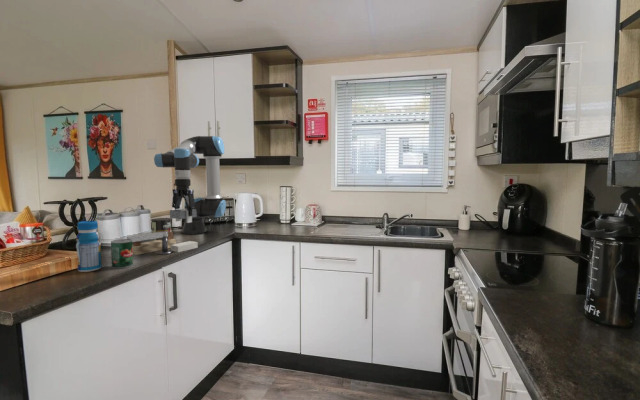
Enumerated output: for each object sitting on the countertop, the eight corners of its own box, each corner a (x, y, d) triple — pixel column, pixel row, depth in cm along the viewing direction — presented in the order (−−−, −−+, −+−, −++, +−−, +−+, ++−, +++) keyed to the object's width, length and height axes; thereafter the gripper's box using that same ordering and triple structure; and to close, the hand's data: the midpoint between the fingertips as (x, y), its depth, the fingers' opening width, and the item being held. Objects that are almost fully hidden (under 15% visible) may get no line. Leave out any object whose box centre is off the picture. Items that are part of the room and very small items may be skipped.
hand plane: (169, 245, 181) (168, 231, 180) (176, 246, 178) (175, 232, 177) (129, 253, 162) (129, 237, 161) (136, 254, 159) (136, 238, 158)
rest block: (190, 246, 178) (190, 241, 178) (197, 247, 175) (197, 242, 175) (170, 250, 168) (170, 245, 167) (178, 252, 165) (178, 246, 164)
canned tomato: (130, 267, 138) (129, 242, 137) (109, 269, 135) (108, 243, 134) (135, 262, 145) (134, 238, 144) (115, 263, 143) (114, 239, 142)
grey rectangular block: (186, 215, 176) (186, 208, 176) (196, 217, 172) (196, 209, 172) (170, 218, 168) (170, 210, 167) (180, 219, 164) (180, 211, 163)
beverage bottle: (87, 273, 129) (85, 223, 128) (72, 271, 132) (69, 222, 130) (107, 267, 137) (104, 220, 136) (91, 265, 140) (89, 220, 138)
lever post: (166, 251, 166) (166, 235, 165) (174, 252, 163) (173, 236, 163) (155, 253, 161) (155, 237, 160) (163, 255, 158) (162, 238, 157)
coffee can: (175, 241, 190) (175, 218, 188) (163, 245, 179) (163, 220, 178) (160, 241, 192) (159, 217, 190) (147, 244, 182) (146, 219, 180)
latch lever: (166, 235, 164) (165, 230, 163) (169, 236, 162) (169, 231, 161) (126, 241, 149) (126, 236, 149) (129, 242, 147) (129, 237, 147)
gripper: (163, 178, 170) (164, 221, 172) (190, 178, 160) (191, 224, 162) (176, 178, 177) (177, 219, 178) (202, 178, 166) (203, 222, 168)
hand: (183, 221), depth 170 cm, fingers closed on grey rectangular block, 8 cm apart
